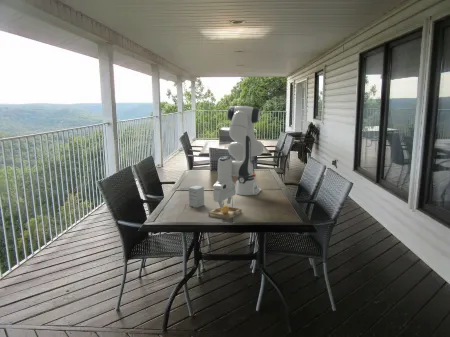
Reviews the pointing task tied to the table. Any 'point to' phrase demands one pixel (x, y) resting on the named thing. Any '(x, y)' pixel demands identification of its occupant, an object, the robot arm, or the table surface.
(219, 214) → the tray
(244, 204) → the table surface
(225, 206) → the ball
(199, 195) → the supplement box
